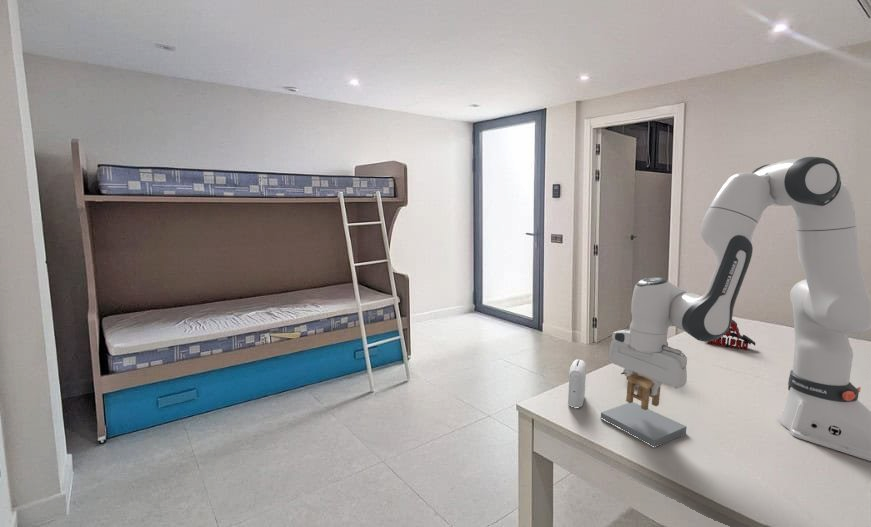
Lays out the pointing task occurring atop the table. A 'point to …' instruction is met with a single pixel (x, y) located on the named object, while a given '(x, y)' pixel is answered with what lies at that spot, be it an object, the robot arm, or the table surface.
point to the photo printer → (577, 383)
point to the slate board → (644, 423)
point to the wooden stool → (641, 390)
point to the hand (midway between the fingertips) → (643, 390)
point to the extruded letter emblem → (733, 341)
